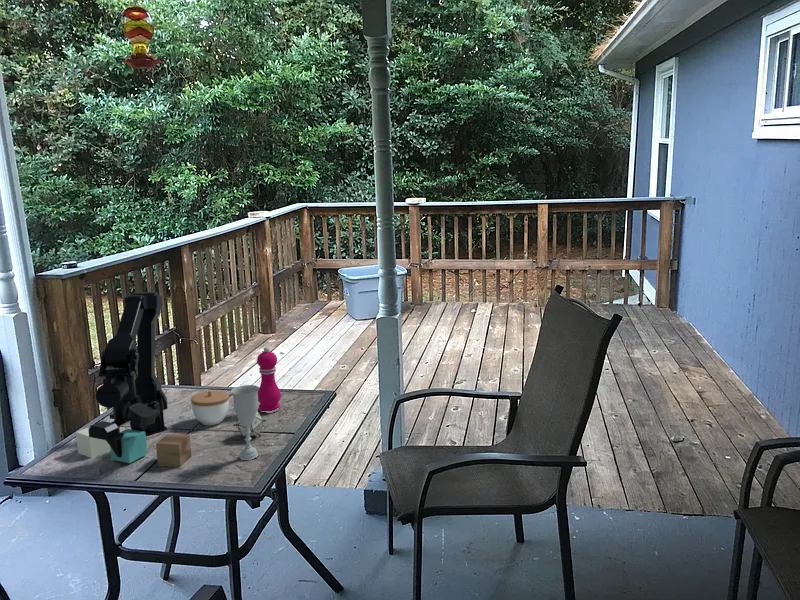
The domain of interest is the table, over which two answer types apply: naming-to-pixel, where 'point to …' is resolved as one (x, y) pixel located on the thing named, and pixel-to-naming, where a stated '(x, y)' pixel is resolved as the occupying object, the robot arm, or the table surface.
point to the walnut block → (173, 450)
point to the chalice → (246, 414)
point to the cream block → (90, 444)
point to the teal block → (131, 446)
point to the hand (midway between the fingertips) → (129, 452)
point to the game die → (251, 426)
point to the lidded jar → (210, 406)
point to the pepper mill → (268, 381)
